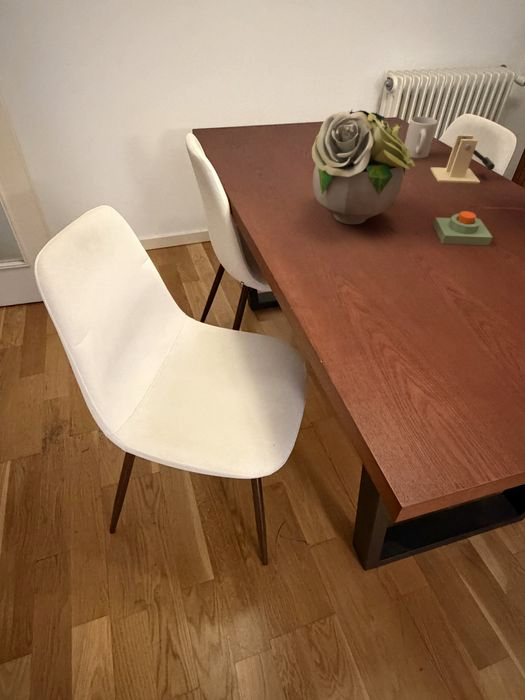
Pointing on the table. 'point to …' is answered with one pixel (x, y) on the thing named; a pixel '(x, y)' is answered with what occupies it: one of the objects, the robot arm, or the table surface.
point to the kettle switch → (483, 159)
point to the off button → (466, 217)
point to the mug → (420, 136)
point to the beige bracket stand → (458, 162)
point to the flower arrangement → (358, 165)
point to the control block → (461, 231)
